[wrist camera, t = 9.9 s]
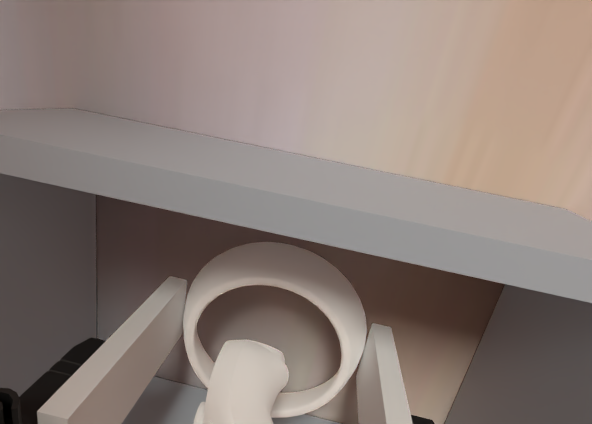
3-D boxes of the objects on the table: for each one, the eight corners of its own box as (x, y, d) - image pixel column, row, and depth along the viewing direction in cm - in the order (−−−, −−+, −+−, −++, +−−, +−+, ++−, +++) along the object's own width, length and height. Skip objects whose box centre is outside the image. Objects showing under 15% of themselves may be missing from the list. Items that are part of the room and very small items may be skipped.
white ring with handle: (482, 620, 11) (270, 829, 8) (303, 324, 19) (173, 365, 16) (636, 528, 7) (328, 886, 4) (325, 211, 16) (160, 238, 12)
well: (72, 107, 14) (-106, 112, 9) (567, 209, 13) (741, 291, 7) (79, 372, 19) (-34, 490, 13) (448, 465, 18) (499, 639, 12)
